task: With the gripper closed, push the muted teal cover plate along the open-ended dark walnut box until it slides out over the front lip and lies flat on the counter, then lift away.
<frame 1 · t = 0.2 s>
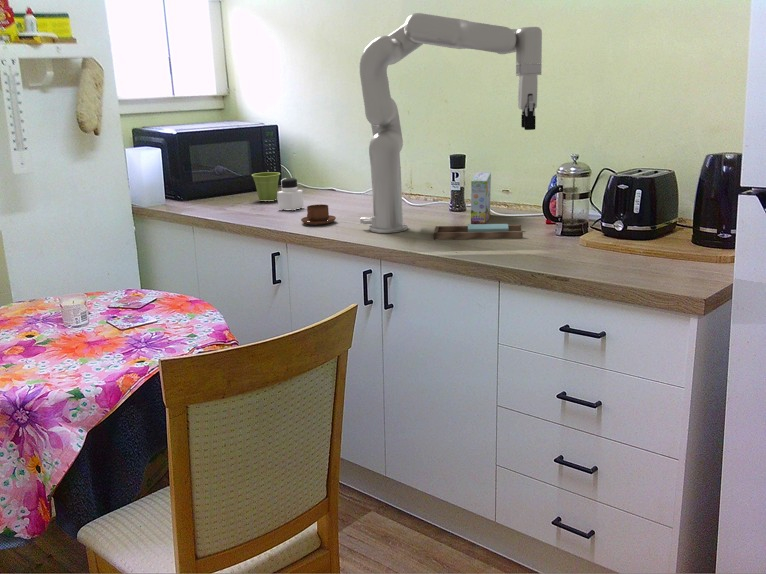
hand: (528, 128, 228), 31 cm above the countertop, tool pointing down, fingers open, 9 cm apart
walnut box: (478, 238, 225), on the countertop
plant pot: (268, 201, 311), on the countertop
snack box: (481, 221, 251), on the countertop
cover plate: (488, 234, 224), point 1 cm above the countertop, touching walnut box
cup and saucer: (318, 224, 259), on the countertop
medicine bottle: (291, 209, 289), on the countertop
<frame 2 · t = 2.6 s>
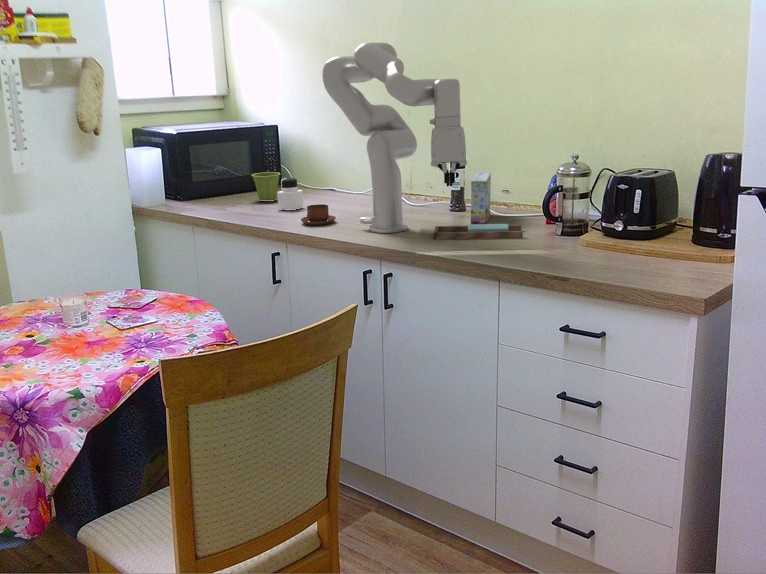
hand: (449, 185, 221), 16 cm above the countertop, tool pointing down, fingers closed
nothing on the countertop moved.
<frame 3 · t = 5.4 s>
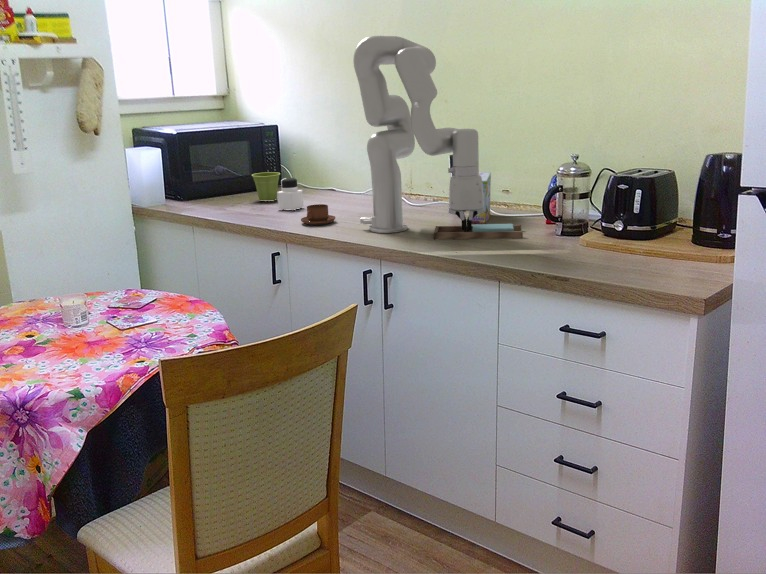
hand: (466, 232, 225), 2 cm above the countertop, tool pointing down, fingers closed
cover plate: (492, 234, 224), point 1 cm above the countertop, touching gripper
everything else where it was.
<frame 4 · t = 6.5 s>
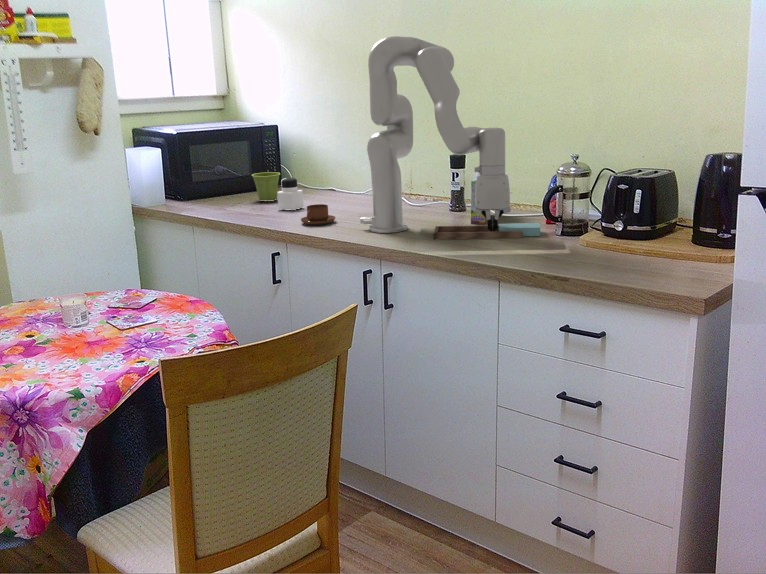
hand: (492, 231, 224), 2 cm above the countertop, tool pointing down, fingers closed
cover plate: (519, 233, 223), point 1 cm above the countertop
everything else where it was.
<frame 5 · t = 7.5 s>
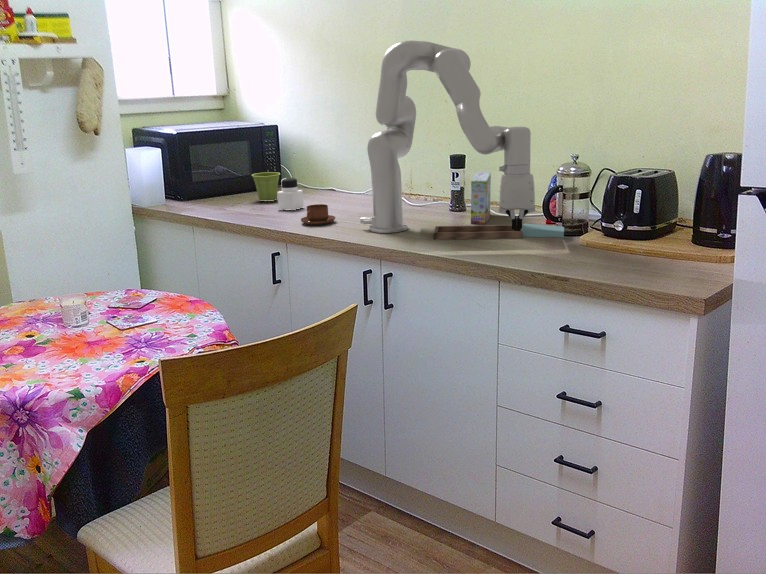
hand: (516, 231, 223), 2 cm above the countertop, tool pointing down, fingers closed
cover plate: (542, 235, 222), point 1 cm above the countertop, touching gripper
everything else where it was.
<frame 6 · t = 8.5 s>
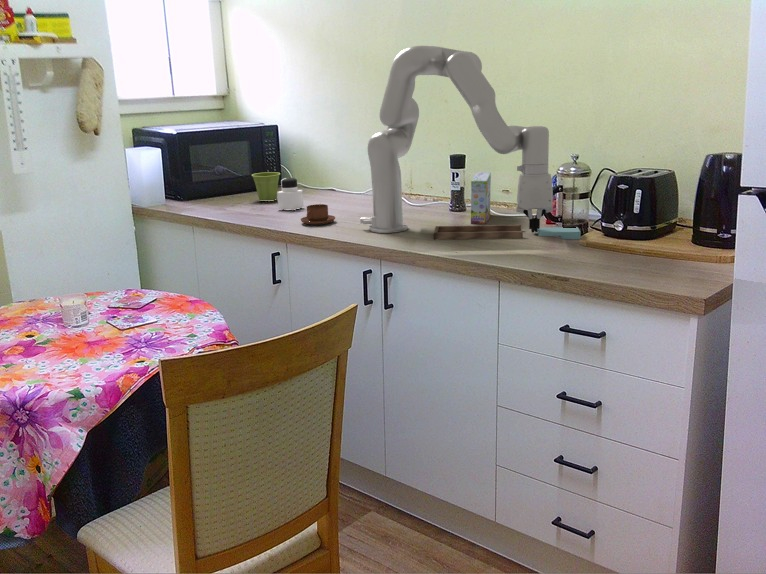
hand: (534, 231, 222), 2 cm above the countertop, tool pointing down, fingers closed
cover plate: (558, 237, 222), on the countertop, touching gripper
everything else where it was.
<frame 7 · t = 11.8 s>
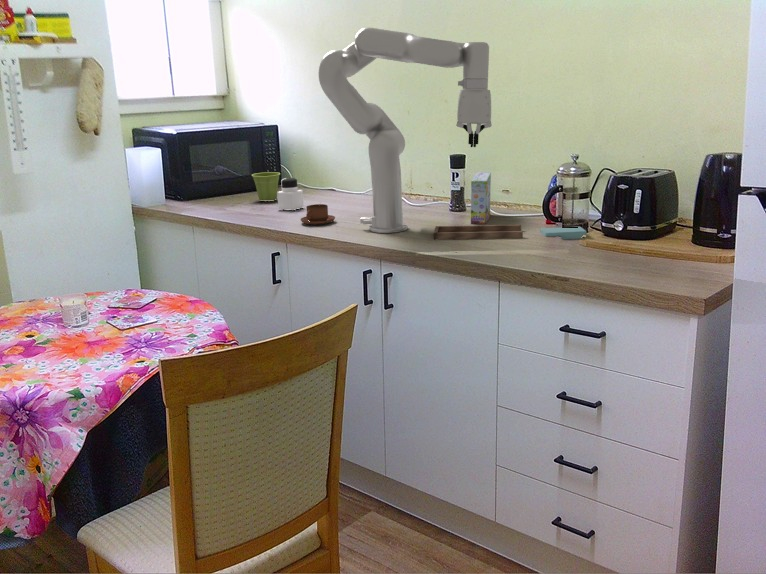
hand: (473, 146, 230), 26 cm above the countertop, tool pointing down, fingers closed
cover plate: (562, 238, 222), on the countertop
everything else where it was.
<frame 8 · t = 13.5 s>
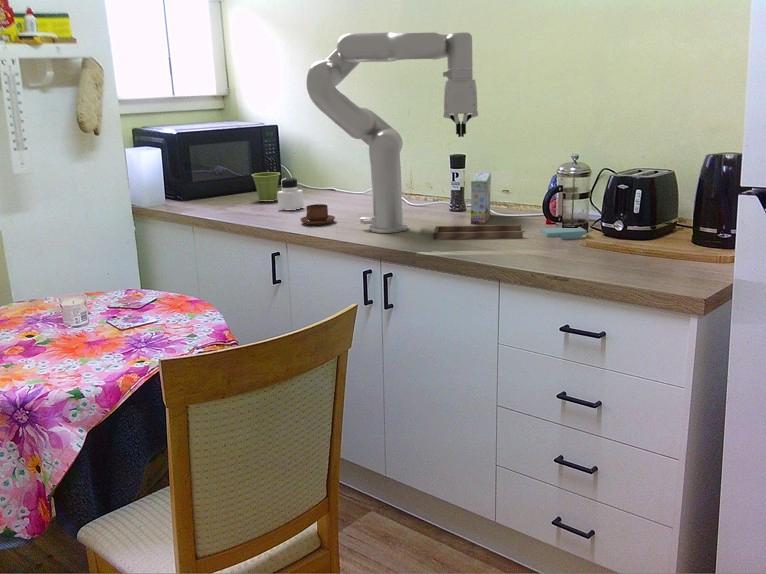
hand: (461, 136, 232), 29 cm above the countertop, tool pointing down, fingers closed
nothing on the countertop moved.
at the end: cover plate inside the target area (0.3 cm from its centre), on the countertop; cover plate tilted 0°; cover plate touching countertop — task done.
